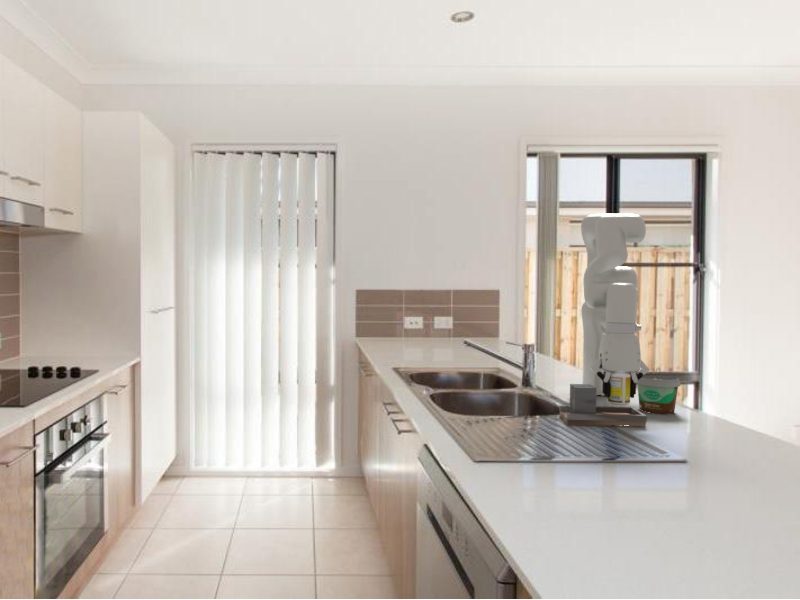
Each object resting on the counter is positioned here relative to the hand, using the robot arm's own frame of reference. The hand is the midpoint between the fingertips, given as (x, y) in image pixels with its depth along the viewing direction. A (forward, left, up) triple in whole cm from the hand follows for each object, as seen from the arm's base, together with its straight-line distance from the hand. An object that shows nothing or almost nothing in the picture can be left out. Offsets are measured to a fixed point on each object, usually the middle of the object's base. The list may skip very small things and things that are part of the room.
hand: (618, 396), depth 161 cm
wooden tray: (0, -4, -7) cm, 8 cm away
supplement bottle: (0, 0, -2) cm, 2 cm away
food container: (-13, +15, -7) cm, 21 cm away
